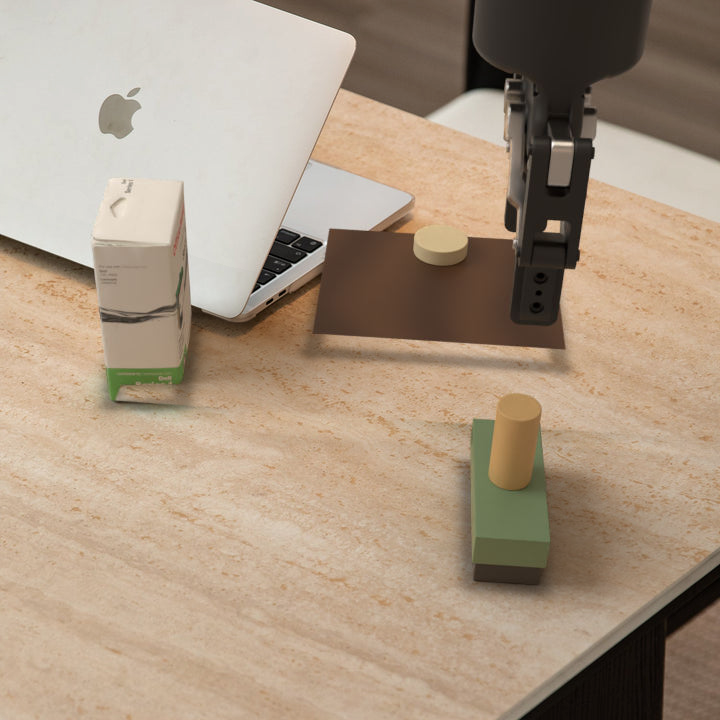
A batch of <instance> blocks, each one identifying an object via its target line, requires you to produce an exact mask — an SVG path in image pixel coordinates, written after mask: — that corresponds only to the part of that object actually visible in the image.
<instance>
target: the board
mask: <svg viewBox="0 0 720 720" xmlns="http://www.w3.org/2000/svg"><path fill="white" fill-rule="evenodd" d="M414 236H415V232H414V233H413V232H412V233H411V232H398V231H397V232H396V231H381V230H380V231H379V230H366V229H365V230H364V229H347V228H333V227H332V228H328V234H327V241H326V247H325V254H324V260H323V266H322V273H321V278H320V284H319V291H318V296H317V303H316V310H315V316H314V321H313V327H312V334H315V335H328V336H329V335H330V336H344V337H345V336H346V337H360V338H361V337H362V338H375V339H376V338H377V339H378V338H379V339H393V340H408V341H424V342H425V341H426V342H441V343H456V344H469V345H471V344H473V345H486V346H487V345H488V346H502V347H503V346H504V347H520V348H534V349H551V350H566V344H565V337H564V335H565V334H564V329H563V328H564V327H563V319H562V312H561V304H560V305H559V311H558V318H557V321H556V322H555V323H554V324H552V325H550V326H537V325H520V324H516V323H514V322H513V321H512V320H511V318H510V300H511V291H512V283H513V274H514V266H515V258H516V257H515V249H513V239H511V238H510V239H509V238H494V237H479V236H467V237H468V248H467V255H466V257H465V259H464V260H463V261H461V262H459V263H457V264H454V265H448V266H438V265H432V264H428V263H425V262H423V261H421V260H420V259H418V258H417V257H416V256H415V254H414V251H413V248H414Z"/></svg>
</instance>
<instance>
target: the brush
mask: <svg viewBox="0 0 720 720" xmlns="http://www.w3.org/2000/svg"><path fill="white" fill-rule="evenodd" d="M542 411H543V408H542V406H541V403H540V402H539V401H538V400H537V399H536V398H534V397H533V396H532V395H529V394H525V393H518V392H517V393H516V392H515V393H508V394H505V395H503V396H502V397H500V398H499V400H498V401H497V403H496V409H495V417H494V419H487V418H472V424H471V431H470V440H469V458H470V459H469V461H470V463H469V464H470V467H469V468H470V515H471V516H470V522H471V523H470V524H471V525H470V526H471V527H470V528H471V563H472V579H473V581H478V582H491V583H492V582H493V583H494V582H495V583H508V584H523V585H537V586H539V585H540V583H541V582H540V581H541V576H542V575H541V574H542V569H546V568H547V566H548V560H549V554H550V549H551V548H550V547H551V543H552V540H551V529H550V528H551V527H550V518H549V507H548V505H549V504H548V496H547V495H548V494H547V483H546V473H545V472H546V471H545V461H544V460H545V459H544V449H543V448H544V447H543V440H542V439H543V438H542V427H541V418H542Z"/></svg>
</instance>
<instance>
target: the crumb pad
mask: <svg viewBox="0 0 720 720" xmlns="http://www.w3.org/2000/svg"><path fill="white" fill-rule="evenodd" d="M414 234H415V236H414V248H413V251H414V254H415V256H416V257H417V258H418V259H420V260H421V261H423V262H425V263H428V264H432V265H438V266H448V265H454V264H457V263H459V262H461V261H463V260H464V259H465V257H466V255H467V248H468V237H469V236H467V234H466V233H465V231H463V230H461V229H460V228H458V227H455V226H452V225H449V224H430V225H426V226H422V227H421V228H419V229H418V230H417V231H416V232H414Z"/></svg>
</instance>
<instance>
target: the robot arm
mask: <svg viewBox="0 0 720 720" xmlns="http://www.w3.org/2000/svg"><path fill="white" fill-rule="evenodd" d="M474 1H475V2H474V12H473V13H474V14H473V22H472V23H473V24H472V43H473V47H474V49H475V50H476V52H477V53H478V54H479V56H480V57H481V58H482V59H484V60H485V61H486V62H487V63H489V64H490V65H491V66H493V67H495V68H497V69H498V70H501V71H503V72H505V73H507V74H511V75H512V74H513V78H505V83H504V91H503V113H504V115H503V138H502V139H503V141H505V143H506V145H505V146H506V147H505V153H506V154H507V153H508V154H507V156H508V157H507V158H508V160H509V161H508V175H507V188H506V198H505V204H504V205H505V207H504V214H503V221H504V228H505V229H506V230H507V231H508V232H510V233H515V237H514V238H513V249H515V257H516V258H515V266H514V274H513V283H512V291H511V300H510V318H511V320H512V321H513V322H514V323H516V324H520V325H537V326H550V325H552V324H554V323H555V322H556V321H557V318H558V311H559V305H560V306H561V297H562V290H563V284H564V277H565V271H566V270H576V268H577V263H579V262H580V259H581V250H580V243H581V237H582V230H583V229H582V228H583V221H584V215H585V208H586V203H587V202H586V201H587V198H588V188H589V180H590V173H591V167H592V166H591V165H592V160H594V159H595V156H596V155H595V154H596V148H595V146H594V144H593V143H594V140H595V139H596V138H597V126H598V106H597V105H593V106H592V101H593V100H592V99H593V85H594V84H596V83H598V82H600V81H603V80H606V79H609V80H611V79H615V78H617V77H619V76H622V75H625V74H626V73H628V72H629V71H631V70H632V69H633V68H635V67H636V65H638V64H639V62H640V61H641V59H642V58H643V56H644V52H645V47H646V41H647V36H648V28H649V24H650V18H651V11H652V5H653V0H474ZM548 221H554V222H555V221H556V222H559V232H552V231H546V229H547V227H548Z"/></svg>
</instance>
